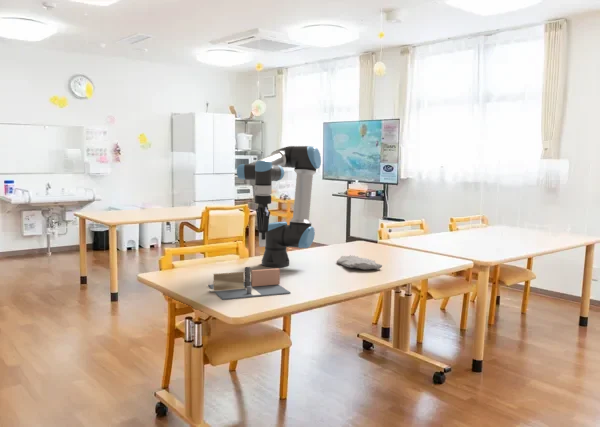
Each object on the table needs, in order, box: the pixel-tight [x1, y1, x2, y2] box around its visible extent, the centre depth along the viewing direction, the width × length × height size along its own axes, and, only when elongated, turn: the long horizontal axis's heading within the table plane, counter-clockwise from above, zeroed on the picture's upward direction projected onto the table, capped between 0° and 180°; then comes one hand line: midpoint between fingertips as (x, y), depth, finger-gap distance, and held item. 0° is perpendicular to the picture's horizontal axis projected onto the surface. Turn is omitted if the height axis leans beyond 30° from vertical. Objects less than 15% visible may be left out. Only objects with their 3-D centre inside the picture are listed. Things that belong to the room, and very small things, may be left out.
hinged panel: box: [250, 267, 281, 287], centre depth 235 cm, size 2×13×7 cm, turn 113°
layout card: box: [208, 280, 291, 301], centre depth 230 cm, size 24×32×4 cm
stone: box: [336, 254, 383, 271], centre depth 284 cm, size 18×5×30 cm
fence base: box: [213, 266, 251, 290], centre depth 229 cm, size 2×16×9 cm, turn 113°
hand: (262, 246), depth 239 cm, fingers closed
